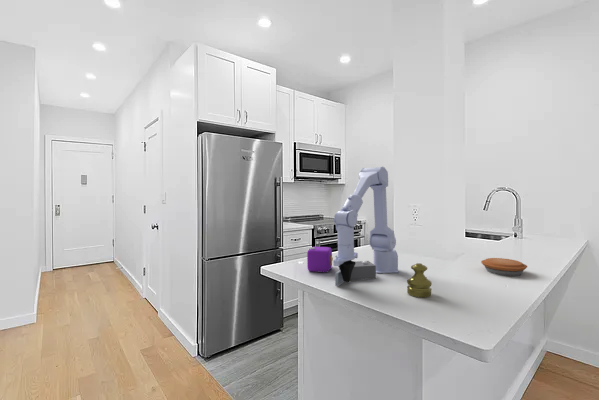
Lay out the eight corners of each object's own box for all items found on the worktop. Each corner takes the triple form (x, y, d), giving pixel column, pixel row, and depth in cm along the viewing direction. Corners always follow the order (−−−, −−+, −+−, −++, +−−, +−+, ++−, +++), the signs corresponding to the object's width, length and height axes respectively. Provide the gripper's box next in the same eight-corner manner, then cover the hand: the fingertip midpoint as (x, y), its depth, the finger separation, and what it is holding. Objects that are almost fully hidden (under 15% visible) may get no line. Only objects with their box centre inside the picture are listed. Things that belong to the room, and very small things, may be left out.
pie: (527, 280, 111) (527, 267, 111) (478, 273, 120) (479, 261, 120) (527, 271, 123) (527, 259, 123) (483, 265, 132) (483, 254, 132)
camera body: (368, 272, 123) (368, 259, 123) (375, 278, 115) (375, 263, 115) (338, 274, 121) (338, 260, 121) (343, 280, 113) (343, 265, 113)
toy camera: (332, 265, 137) (332, 243, 137) (333, 273, 123) (332, 249, 123) (309, 265, 138) (308, 243, 138) (307, 273, 124) (306, 249, 124)
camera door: (338, 286, 105) (338, 272, 105) (335, 285, 106) (335, 272, 106) (347, 279, 113) (347, 267, 113) (344, 279, 114) (344, 266, 113)
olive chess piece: (429, 299, 92) (429, 267, 92) (404, 295, 96) (404, 264, 96) (433, 292, 99) (433, 262, 98) (409, 289, 102) (409, 260, 102)
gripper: (345, 240, 115) (346, 275, 115) (325, 246, 103) (326, 285, 104) (362, 241, 110) (363, 277, 111) (343, 248, 99) (344, 288, 99)
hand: (346, 281), depth 107 cm, fingers closed
